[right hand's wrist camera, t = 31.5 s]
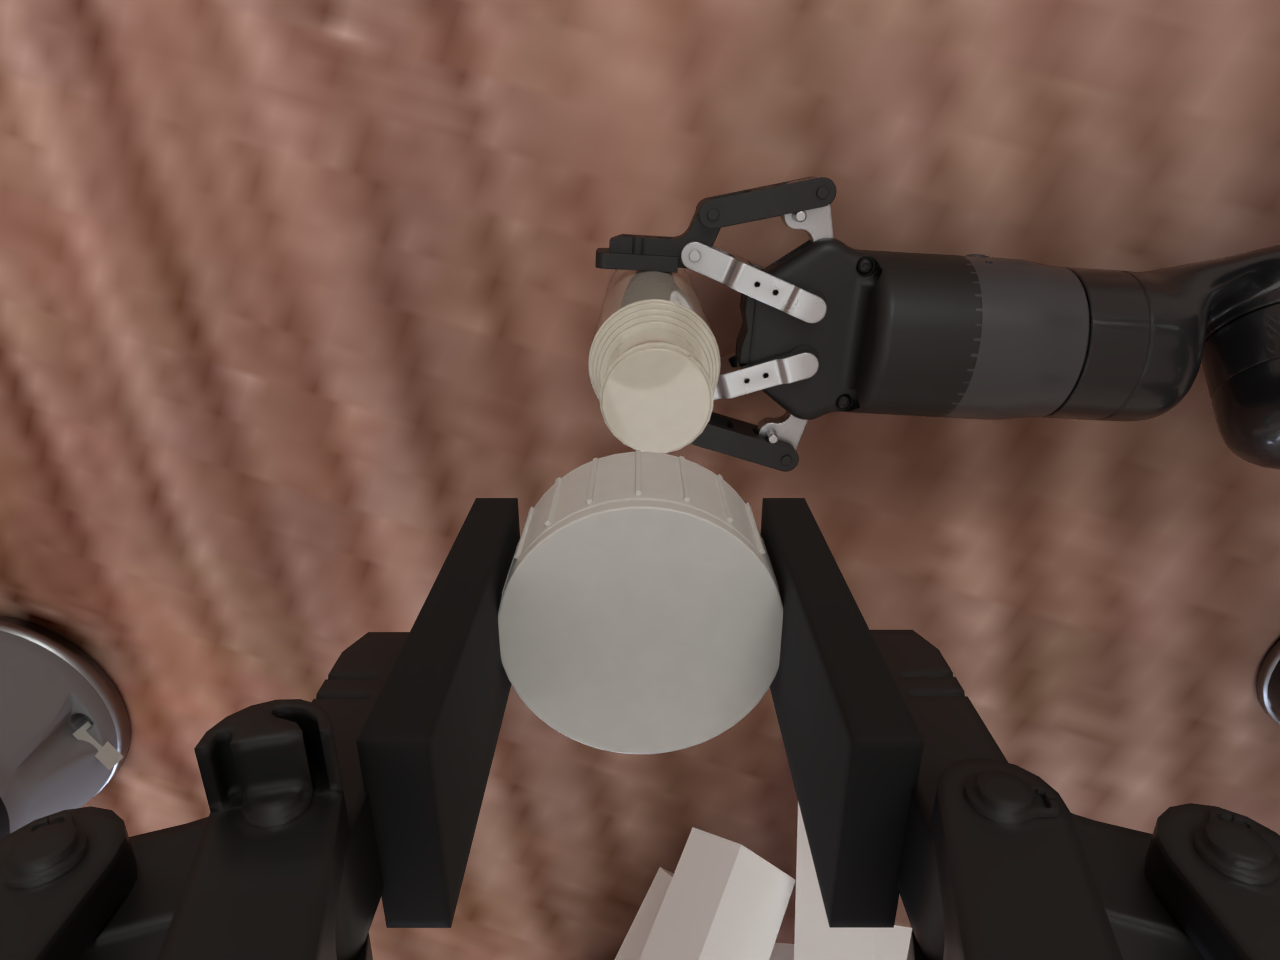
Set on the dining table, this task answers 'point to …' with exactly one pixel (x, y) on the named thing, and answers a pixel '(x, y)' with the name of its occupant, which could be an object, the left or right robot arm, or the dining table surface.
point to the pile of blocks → (745, 911)
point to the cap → (640, 606)
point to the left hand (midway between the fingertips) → (596, 318)
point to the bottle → (654, 361)
